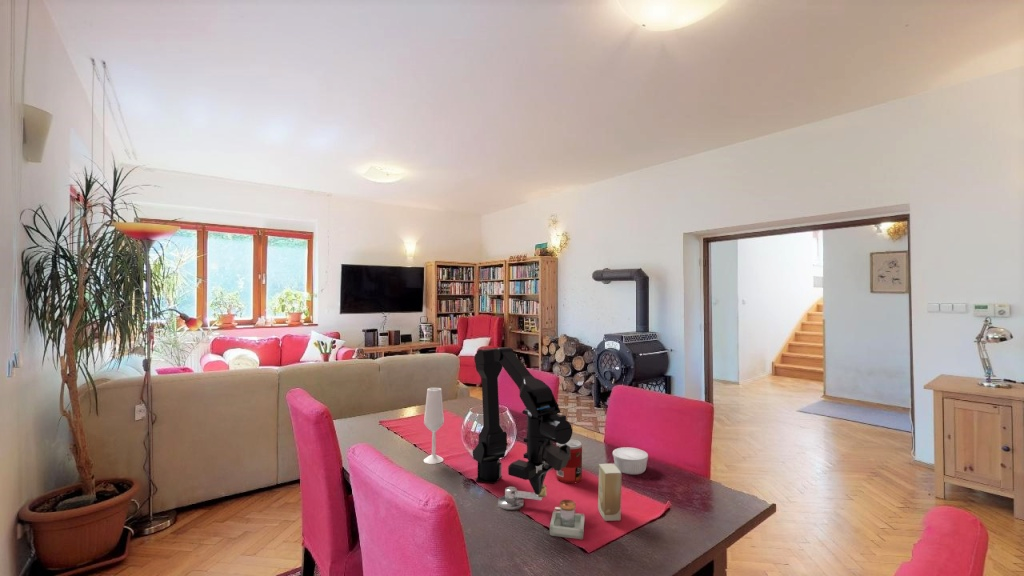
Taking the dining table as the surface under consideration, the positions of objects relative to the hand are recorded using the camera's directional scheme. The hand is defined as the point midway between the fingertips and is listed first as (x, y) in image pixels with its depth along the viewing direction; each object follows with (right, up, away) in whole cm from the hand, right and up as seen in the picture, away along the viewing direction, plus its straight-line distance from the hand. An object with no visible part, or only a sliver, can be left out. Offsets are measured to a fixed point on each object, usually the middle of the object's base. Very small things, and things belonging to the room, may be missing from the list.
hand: (537, 494), depth 114 cm
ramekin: (+32, -5, +28) cm, 43 cm away
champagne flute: (-33, -5, +34) cm, 48 cm away
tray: (+7, -4, -8) cm, 12 cm away
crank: (-3, -4, +3) cm, 6 cm away
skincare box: (+18, -5, -1) cm, 19 cm away
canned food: (+11, -5, +21) cm, 24 cm away
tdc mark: (+6, -5, +1) cm, 8 cm away
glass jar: (+7, -4, -8) cm, 11 cm away
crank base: (-7, -4, +4) cm, 9 cm away
